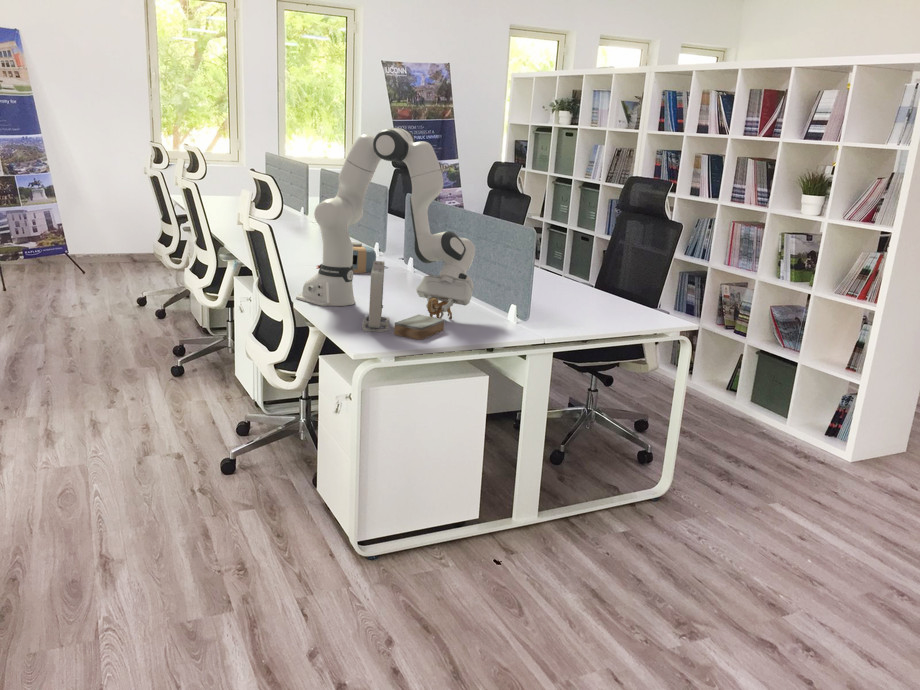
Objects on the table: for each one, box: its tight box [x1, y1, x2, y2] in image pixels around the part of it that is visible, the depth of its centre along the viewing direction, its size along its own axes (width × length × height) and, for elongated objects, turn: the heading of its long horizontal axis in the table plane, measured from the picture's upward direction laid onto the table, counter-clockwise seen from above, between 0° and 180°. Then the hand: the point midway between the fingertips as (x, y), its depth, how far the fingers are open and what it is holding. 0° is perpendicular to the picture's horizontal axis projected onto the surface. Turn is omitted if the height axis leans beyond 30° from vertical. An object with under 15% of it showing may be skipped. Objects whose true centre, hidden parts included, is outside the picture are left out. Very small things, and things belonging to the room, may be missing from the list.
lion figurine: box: [426, 298, 453, 320], centre depth 283 cm, size 15×5×9 cm, turn 155°
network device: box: [361, 260, 390, 333], centre depth 269 cm, size 26×9×20 cm, turn 4°
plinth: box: [393, 314, 446, 341], centre depth 265 cm, size 10×16×4 cm, turn 153°
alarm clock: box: [351, 241, 377, 274], centre depth 369 cm, size 19×20×12 cm
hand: (435, 309), depth 281 cm, fingers closed on lion figurine, 5 cm apart
